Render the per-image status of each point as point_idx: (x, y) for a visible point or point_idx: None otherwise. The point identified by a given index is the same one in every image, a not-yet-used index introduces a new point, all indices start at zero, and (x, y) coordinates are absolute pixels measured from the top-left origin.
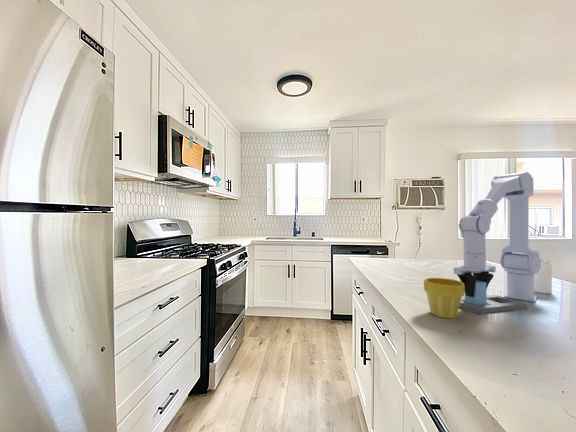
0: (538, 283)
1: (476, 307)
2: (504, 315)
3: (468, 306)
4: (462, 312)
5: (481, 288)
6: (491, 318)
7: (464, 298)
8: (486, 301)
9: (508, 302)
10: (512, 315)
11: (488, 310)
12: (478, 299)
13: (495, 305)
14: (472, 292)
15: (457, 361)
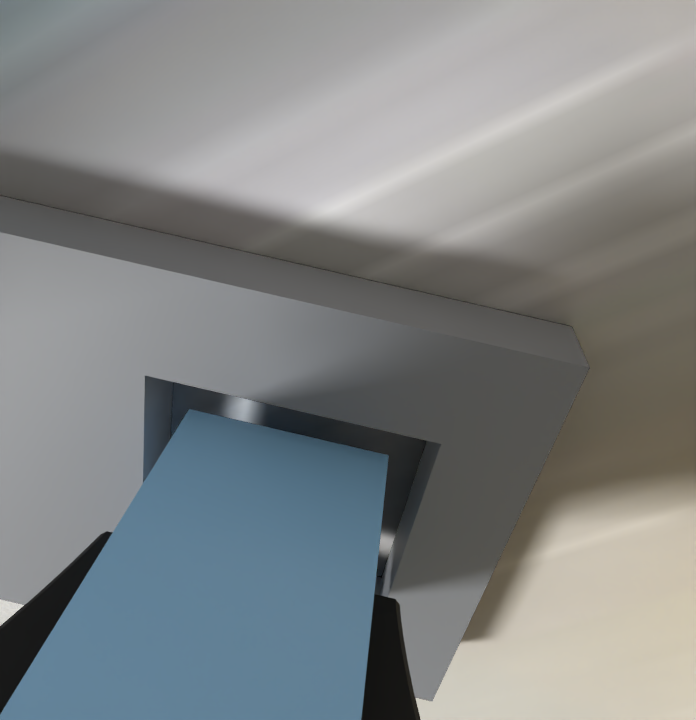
0: None
1: (528, 414)
2: (264, 96)
3: (519, 496)
4: (684, 459)
5: (186, 690)
6: (635, 122)
7: None
8: (171, 442)
9: None
10: (134, 27)
11: (373, 296)
12: (331, 516)
13: (125, 319)
14: (406, 678)
15: None
